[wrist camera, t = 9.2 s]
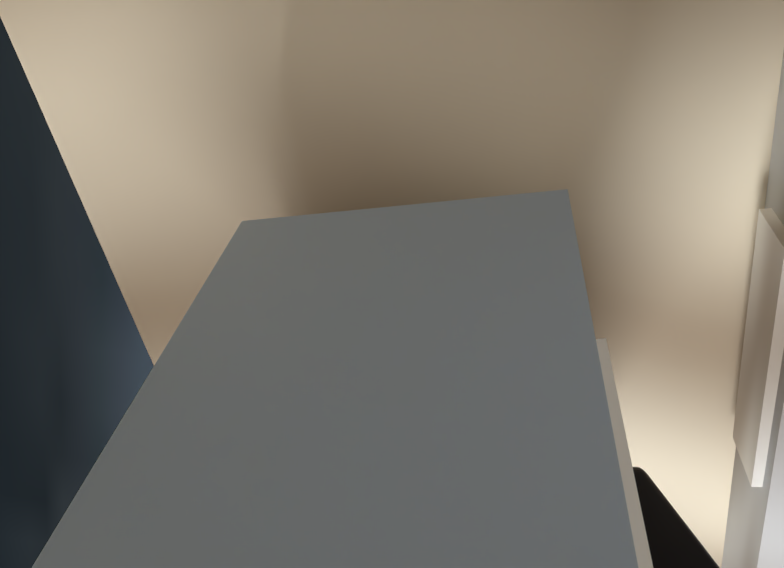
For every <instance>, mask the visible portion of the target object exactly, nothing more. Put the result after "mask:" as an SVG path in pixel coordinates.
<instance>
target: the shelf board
mask: <svg viewBox="0 0 784 568" xmlns="http://www.w3.org/2000/svg"><path fill="white" fill-rule="evenodd" d="M0 17H1V19H2V21H3V24H4V26H5V28H6V31H7V33H8V35H9V37H10V40H11V42H12V44H13V46H14V49H15V51H16V53H17V56H18V58H19V60H20V62H21V65H22V67H23V69H24V71H25V74H26V76H27V78H28V81H29V83H30V85H31V87H32V90H33V92H34V94H35V96H36V99H37V101H38V103H39V106H40V108H41V110H42V112H43V115H44V117H45V119H46V121H47V124H48V126H49V128H50V131H51V133H52V135H53V137H54V140H55V142H56V144H57V146H58V149H59V151H60V153H61V156H62V158H63V160H64V162H65V165H66V167H67V169H68V171H69V174H70V176H71V178H72V181H73V183H74V185H75V187H76V190H77V192H78V194H79V196H80V199H81V201H82V203H83V206H84V208H85V210H86V212H87V215H88V217H89V219H90V221H91V224H92V226H93V228H94V231H95V233H96V235H97V237H98V240H99V242H100V244H101V246H102V249H103V251H104V253H105V256H106V258H107V260H108V262H109V265H110V267H111V269H112V271H113V274H114V276H115V278H116V281H117V283H118V285H119V287H120V290H121V292H122V294H123V296H124V299H125V301H126V303H127V306H128V308H129V310H130V312H131V315H132V317H133V319H134V321H135V324H136V326H137V328H138V331H139V333H140V335H141V337H142V340H143V342H144V344H145V346H146V349H147V351H148V353H149V356H150V358H151V360H152V362H153V365H155V364H156V362H157V360H158V359H159V357H160V355H161V354H162V352H163V350H164V349H165V347H166V345H167V344H168V342H169V341H170V339H171V337H172V336H173V334H174V332H175V331H176V329H177V327H178V326H179V324H180V322H181V321H182V319H183V317H184V316H185V314H186V313H187V311H188V309H189V308H190V306H191V304H192V303H193V301H194V299H195V298H196V296H197V294H198V293H199V291H200V289H201V288H202V286H203V284H204V283H205V281H206V280H207V278H208V276H209V275H210V273H211V271H212V270H213V268H214V266H215V265H216V263H217V261H218V260H219V258H220V256H221V255H222V253H223V252H224V250H225V248H226V247H227V245H228V243H229V242H230V240H231V238H232V237H233V235H234V233H235V232H236V230H237V228H238V227H239V225H240V223H241V222H242V221H247V220H257V219H268V218H278V217H288V216H298V215H309V214H319V213H329V212H339V211H350V210H360V209H370V208H380V207H391V206H401V205H411V204H421V203H431V202H442V201H452V200H462V199H472V198H483V197H493V196H503V195H513V194H524V193H534V192H544V191H554V190H565V189H568V194H569V199H570V204H571V210H572V215H573V220H574V226H575V231H576V236H577V242H578V247H579V252H580V258H581V263H582V269H583V274H584V279H585V285H586V290H587V295H588V301H589V306H590V311H591V317H592V322H593V327H594V333H595V338H596V339H604V338H606V341H607V346H608V351H609V355H610V360H611V365H612V370H613V375H614V380H615V384H616V389H617V394H618V399H619V404H620V409H621V414H622V418H623V423H624V428H625V433H626V438H627V443H628V447H629V452H630V457H631V462H632V467H640V468H642V469H643V470H644V471H645V472H646V473H647V474H648V475H649V477H650V478H651V479H652V480H653V482H654V483H655V484H656V486H657V487H658V488H659V490H660V491H661V492H662V493H663V495H664V496H665V497H666V499H667V500H668V501H669V502H670V504H671V505H672V506H673V508H674V509H675V510H676V512H677V513H678V514H679V515H680V517H681V518H682V519H683V521H684V522H685V523H686V524H687V526H688V527H689V528H690V530H691V531H692V532H693V534H694V535H695V536H696V537H697V539H698V540H699V541H700V543H701V544H702V545H703V546H704V548H705V549H706V550H707V552H708V553H709V554H710V556H711V557H712V558H713V559H714V561H715V562H716V563H717V565H718V566H719V567H720V568H784V0H0Z"/></svg>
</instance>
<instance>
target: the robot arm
mask: <svg viewBox="0 0 784 568" xmlns="http://www.w3.org/2000/svg"><path fill="white" fill-rule="evenodd" d="M633 472H634V477H635V481H636V486H637V491H638V496H639V501H640V506H641V510H642V515H643V520H644V525H645V530H646V535H647V540H648V544H649V549H650V554H651V559H652V564H653V568H720V567H719V566H718V565H717V563H716V562H715V561H714V559H713V558H712V557H711V556H710V554H709V553H708V552H707V550H706V549H705V548H704V546H703V545H702V544H701V543H700V541H699V540H698V539H697V537H696V536H695V535H694V534H693V532H692V531H691V530H690V528H689V527H688V526H687V524H686V523H685V522H684V521H683V519H682V518H681V517H680V515H679V514H678V513H677V512H676V510H675V509H674V508H673V506H672V505H671V504H670V502H669V501H668V500H667V499H666V497H665V496H664V495H663V493H662V492H661V491H660V490H659V488H658V487H657V486H656V484H655V483H654V482H653V480H652V479H651V478H650V477H649V475H648V474H647V473H646V472H645V471H644V470H643V469H642V468H640V467H633Z"/></svg>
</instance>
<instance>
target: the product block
mask: <svg viewBox="0 0 784 568" xmlns="http://www.w3.org/2000/svg"><path fill="white" fill-rule="evenodd" d="M32 568H653V564H652V559H651V554H650V549H649V544H648V540H647V535H646V530H645V525H644V520H643V515H642V510H641V506H640V501H639V496H638V491H637V486H636V481H635V477H634V472H633V467H632V462H631V457H630V452H629V447H628V443H627V438H626V433H625V428H624V423H623V418H622V414H621V409H620V404H619V399H618V394H617V389H616V384H615V380H614V375H613V370H612V365H611V360H610V355H609V351H608V346H607V341H606V338H604V339H596V338H595V333H594V327H593V322H592V317H591V311H590V306H589V301H588V295H587V290H586V285H585V279H584V274H583V269H582V263H581V258H580V252H579V247H578V242H577V236H576V231H575V226H574V220H573V215H572V210H571V204H570V199H569V194H568V189H565V190H554V191H544V192H534V193H524V194H513V195H503V196H493V197H483V198H472V199H462V200H452V201H442V202H431V203H421V204H411V205H401V206H391V207H380V208H370V209H360V210H350V211H339V212H329V213H319V214H309V215H298V216H288V217H278V218H268V219H257V220H247V221H242V222H241V223H240V225H239V227H238V228H237V230H236V232H235V233H234V235H233V237H232V238H231V240H230V242H229V243H228V245H227V247H226V248H225V250H224V252H223V253H222V255H221V256H220V258H219V260H218V261H217V263H216V265H215V266H214V268H213V270H212V271H211V273H210V275H209V276H208V278H207V280H206V281H205V283H204V284H203V286H202V288H201V289H200V291H199V293H198V294H197V296H196V298H195V299H194V301H193V303H192V304H191V306H190V308H189V309H188V311H187V313H186V314H185V316H184V317H183V319H182V321H181V322H180V324H179V326H178V327H177V329H176V331H175V332H174V334H173V336H172V337H171V339H170V341H169V342H168V344H167V345H166V347H165V349H164V350H163V352H162V354H161V355H160V357H159V359H158V360H157V362H156V364H155V365H154V367H153V369H152V370H151V372H150V374H149V375H148V377H147V378H146V380H145V382H144V383H143V385H142V387H141V388H140V390H139V392H138V393H137V395H136V397H135V398H134V400H133V402H132V403H131V405H130V407H129V408H128V410H127V411H126V413H125V415H124V416H123V418H122V420H121V421H120V423H119V425H118V426H117V428H116V430H115V431H114V433H113V435H112V436H111V438H110V439H109V441H108V443H107V444H106V446H105V448H104V449H103V451H102V453H101V454H100V456H99V458H98V459H97V461H96V463H95V464H94V466H93V468H92V469H91V471H90V472H89V474H88V476H87V477H86V479H85V481H84V482H83V484H82V486H81V487H80V489H79V491H78V492H77V494H76V496H75V497H74V499H73V501H72V502H71V504H70V505H69V507H68V509H67V510H66V512H65V514H64V515H63V517H62V519H61V520H60V522H59V524H58V525H57V527H56V529H55V530H54V532H53V533H52V535H51V537H50V538H49V540H48V542H47V543H46V545H45V547H44V548H43V550H42V552H41V553H40V555H39V557H38V558H37V560H36V562H35V563H34V565H33V566H32Z"/></svg>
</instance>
